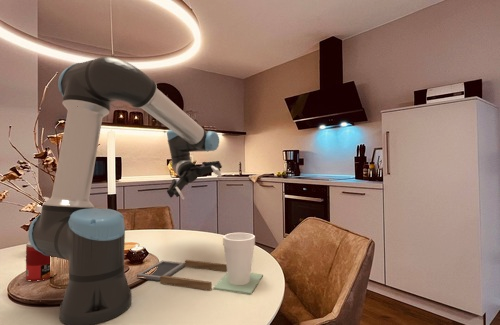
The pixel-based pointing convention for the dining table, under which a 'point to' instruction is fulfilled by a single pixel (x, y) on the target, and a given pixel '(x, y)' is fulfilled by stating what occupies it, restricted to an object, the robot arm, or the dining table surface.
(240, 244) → the foam cup
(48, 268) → the canned food
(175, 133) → the robot arm
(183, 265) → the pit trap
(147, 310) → the dining table surface
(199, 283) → the channel rails
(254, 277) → the pad
